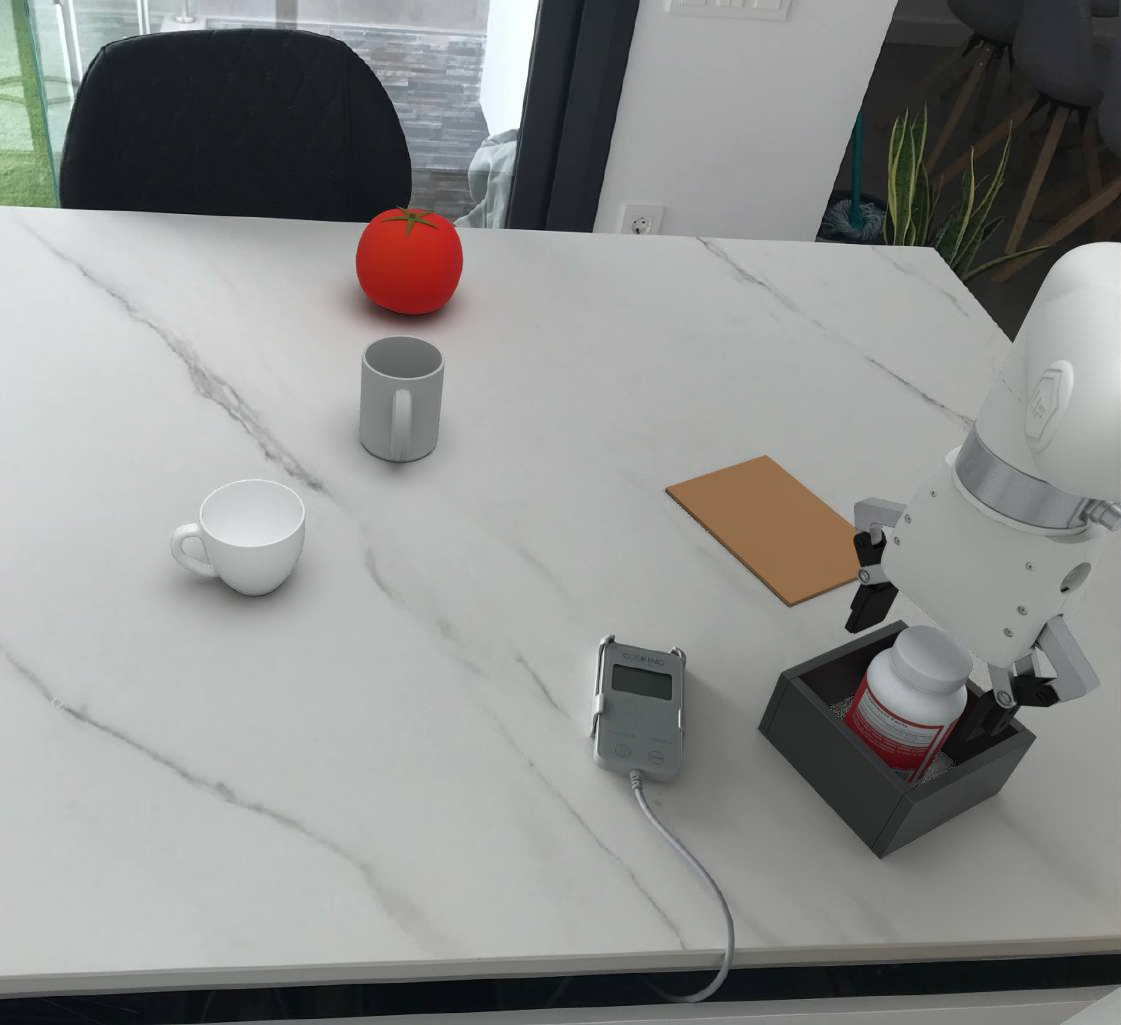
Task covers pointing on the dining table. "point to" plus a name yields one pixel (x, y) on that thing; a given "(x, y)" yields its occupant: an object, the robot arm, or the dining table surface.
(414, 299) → the tomato
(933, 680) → the pill bottle
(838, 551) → the cork mat
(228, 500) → the cup
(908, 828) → the bin
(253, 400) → the dining table surface
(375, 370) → the cup
